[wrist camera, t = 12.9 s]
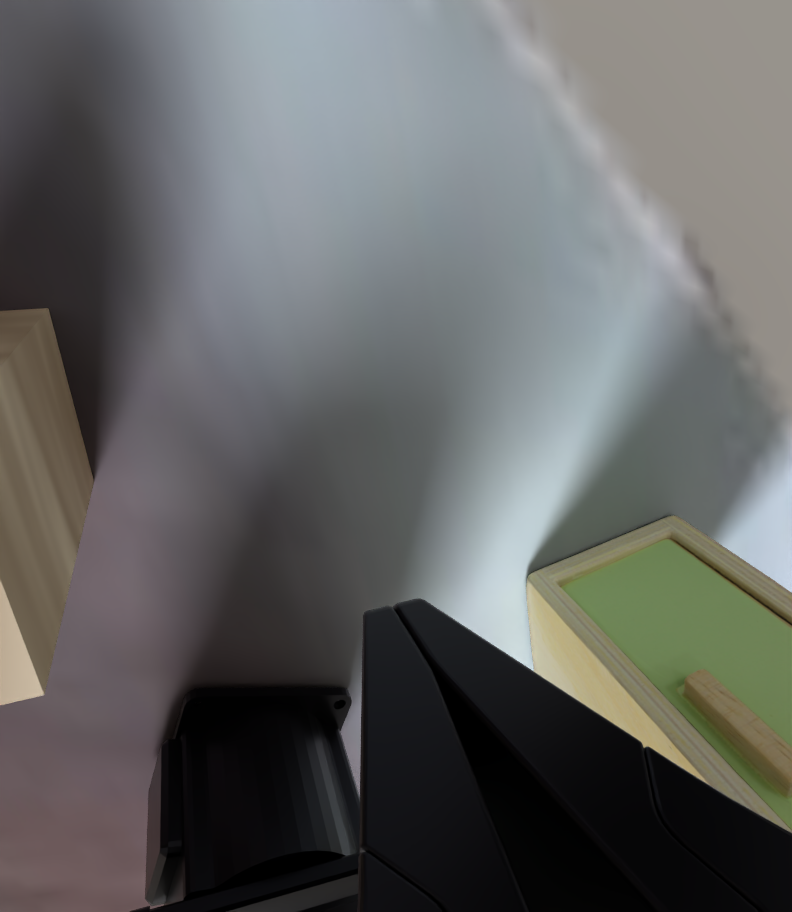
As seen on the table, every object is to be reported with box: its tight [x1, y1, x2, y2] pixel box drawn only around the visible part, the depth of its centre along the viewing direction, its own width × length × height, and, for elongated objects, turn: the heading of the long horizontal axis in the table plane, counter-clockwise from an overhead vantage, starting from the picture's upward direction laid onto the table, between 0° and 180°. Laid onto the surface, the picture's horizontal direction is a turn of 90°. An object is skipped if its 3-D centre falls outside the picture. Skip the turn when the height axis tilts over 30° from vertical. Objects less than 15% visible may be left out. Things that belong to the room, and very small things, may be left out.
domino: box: [0, 308, 94, 705], centre depth 12 cm, size 2×5×8 cm, turn 0°
